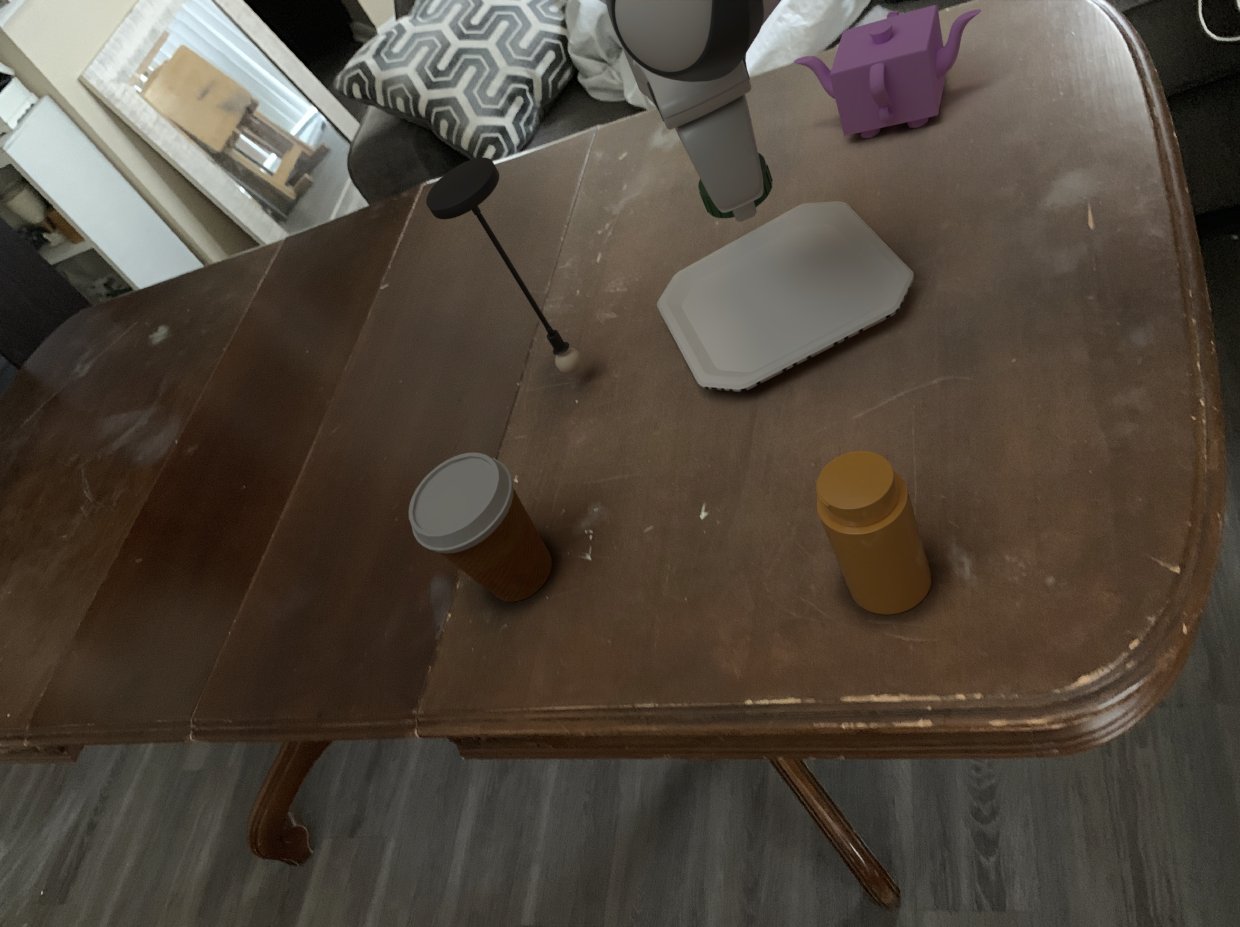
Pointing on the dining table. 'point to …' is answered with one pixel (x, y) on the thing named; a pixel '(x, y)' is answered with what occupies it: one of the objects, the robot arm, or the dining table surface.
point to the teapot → (890, 70)
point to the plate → (782, 295)
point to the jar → (873, 532)
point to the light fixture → (490, 232)
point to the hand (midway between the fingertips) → (738, 193)
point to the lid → (767, 189)
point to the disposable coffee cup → (480, 525)
